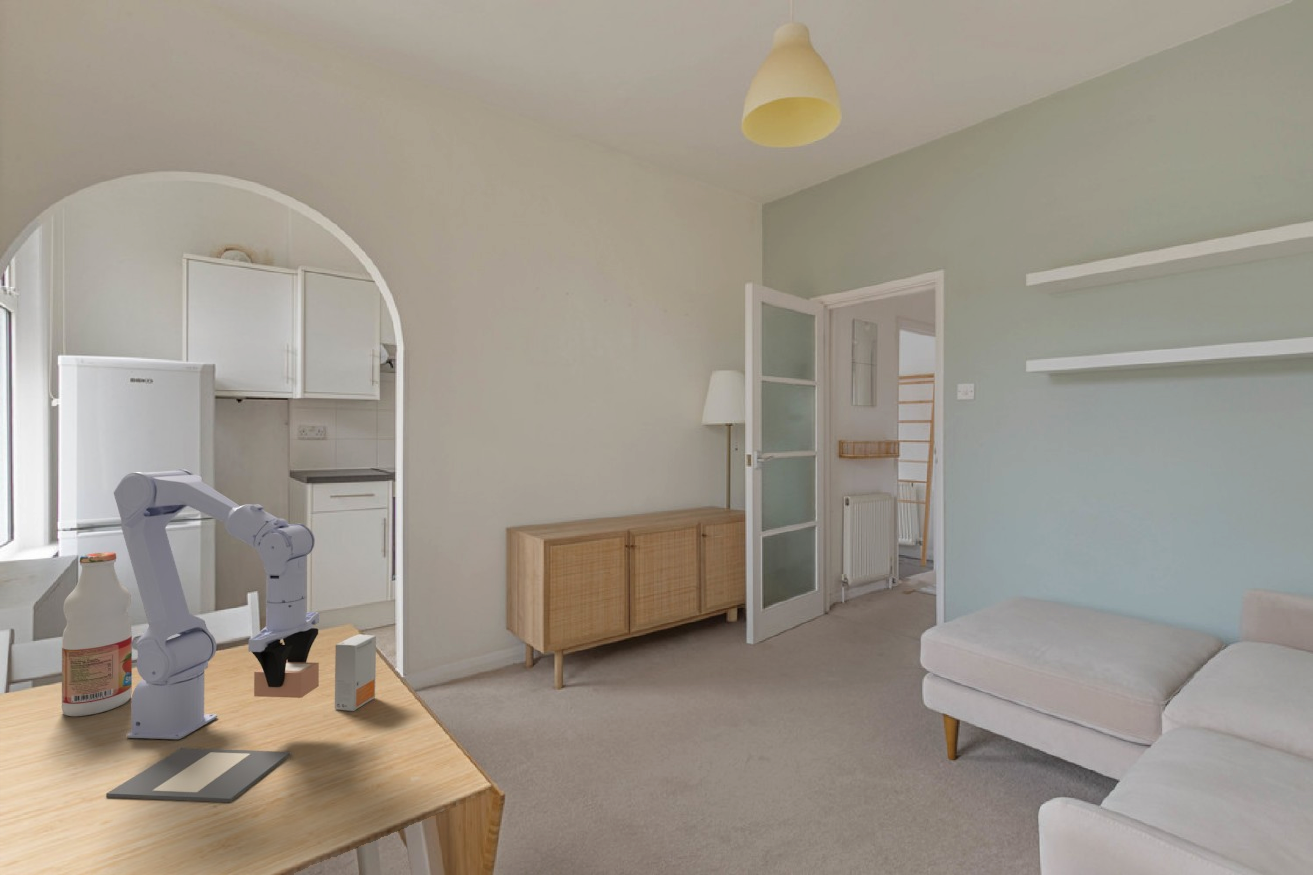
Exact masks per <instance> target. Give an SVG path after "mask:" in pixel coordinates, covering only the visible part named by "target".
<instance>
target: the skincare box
mask: <svg viewBox="0 0 1313 875" xmlns="http://www.w3.org/2000/svg"><path fill="white" fill-rule="evenodd" d="M376 646H377V635H373V634H372V635H370V634H361V633H359V634H356V635H355V634H354V635H353V636H350V637H348V638H346V639H345V640H343V641H341V642H338V643H336V644H335V652H334V653H335V655H334V656H335V657H334V658H335V660H334V661H335V662H334V663H335V665H334V672H335V673H334V710H338V711H339V710H341V711H349V712H354V711H356V710H357V709H359V708H361V707H362V706H364V705H366V704H367V703H369V702H370V701H373V700H374V699H375V698H376V672H377V671H376V663H377V658H376V657H377V655H376V654H377V647H376Z"/></svg>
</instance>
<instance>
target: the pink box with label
mask: <svg viewBox="0 0 1313 875" xmlns="http://www.w3.org/2000/svg"><path fill="white" fill-rule="evenodd" d="M319 664H320V662H307V661H306V662H286V668H285V678H284V683H283V686H281V687H268V684H267V681H266V677H265V674H264V671H263V669H262V667H261V668H258V669H257V670H255V671H254V673H253V675H254V676H253V688H254V689H253V690H254V691H253V696H254V697H259V698H260V697H265V698H294V699H295V698H297V699H299V698H303V697H305V696H306V695H307V694H309V693H311V692H312V691H314V690H315V689H316V688H318V687H320V686H319V682H320V681H319V678H320V677H319V674H320V673H319V671H320V670H319V668H320V666H319Z"/></svg>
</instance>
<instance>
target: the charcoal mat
mask: <svg viewBox="0 0 1313 875" xmlns="http://www.w3.org/2000/svg"><path fill="white" fill-rule="evenodd" d="M291 753H292V752H291V751H281V750H280V751H278V750H277V751H276V750H273V751H272V750H253V749H252V750H247V749H246V750H245V749H244V750H242V749H221V748H219V749H218V748H217V749H216V748H191V747H189V748H187V747H180V748H179V749H177V750H176V751H174V752H172V753H171V754H169V755H166V757H164V758H162V759H160V760H159V761H157V762H156V763H154V764H153V765H151V766H149V767H148V768H145V769H144V770H142V771H141V772H139V773H138V774H136V775H134V776H133V777H131V778H130V779H128V780H126V781H125V782H123V783H122V784H119V785H118V786H117V787H115V788H112V789H111V790H110V791H108V792H106V795H105V797H106V798H117V799H118V798H119V799H120V798H121V799H139V800H140V799H142V800H143V799H144V800H145V799H146V800H165V801H167V800H168V801H169V800H171V801H187V802H189V801H191V802H192V801H194V802H216V803H232V802H233V801H234V800H235V799H236V798H238V797H239V796H241V795H242V794H243V793H245V792H246V791H247V790H248V789H250V788H251V787H252V786H253V785H255V784H256V783H257V782H259V781H260V780H261V779H263V777H264V776H267V774H269V773H270V772H272V770H274V769H275V768H276V767H278V765H280V764H281V763H283V761H285V760H287V759H288V758H290V756H291Z"/></svg>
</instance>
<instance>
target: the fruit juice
mask: <svg viewBox="0 0 1313 875" xmlns="http://www.w3.org/2000/svg"><path fill="white" fill-rule="evenodd" d="M116 561H117V554H116V553H115V552H114V551H113V552H109V551H107V552H95V553H93V552H92V553H87V554H83V555H80V556H79V563H80V564H79V566H81V573H80V576H79V578H78V582H77V583H76V585H75V587H74V588H73V590H72V591H71V592H70V593H69V594H68V595H67V597H66V598H65V599H64V601H63V609H62V611H63V614H64V616H65V620H66V626H65V628H64V629H63V633H62V640H61V710H62V713H63V715H65V716H68V717H84V716H91V715H96V714H101V713H104V712H107V711H111V710H113V709H116V708H118V707H120V706H123V705H124V704H126V703H127V702H129V701H130V699H131V698H132V693H133V692H132V689H133V688H132V685H133V683H132V681H133V680H132V679H133V678H132V677H133V676H132V675H133V673H132V670H133V668H132V662H133V658H132V657H133V654H132V653H133V650H132V649H133V646H132V645H133V644H132V643H133V631H132V630H133V628H132V627H133V626H132V620H131V618H130V617H129V615H128V614H129V612H128V611H129V609H130V605H131V603H132V602H131V601H132V596H131V592H130V590H129V589H128V588H127V587H126V586H125V585H124V584H122V583H121V581H120V579H119V578H118V575H117V573H116V570H115V563H116Z"/></svg>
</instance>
